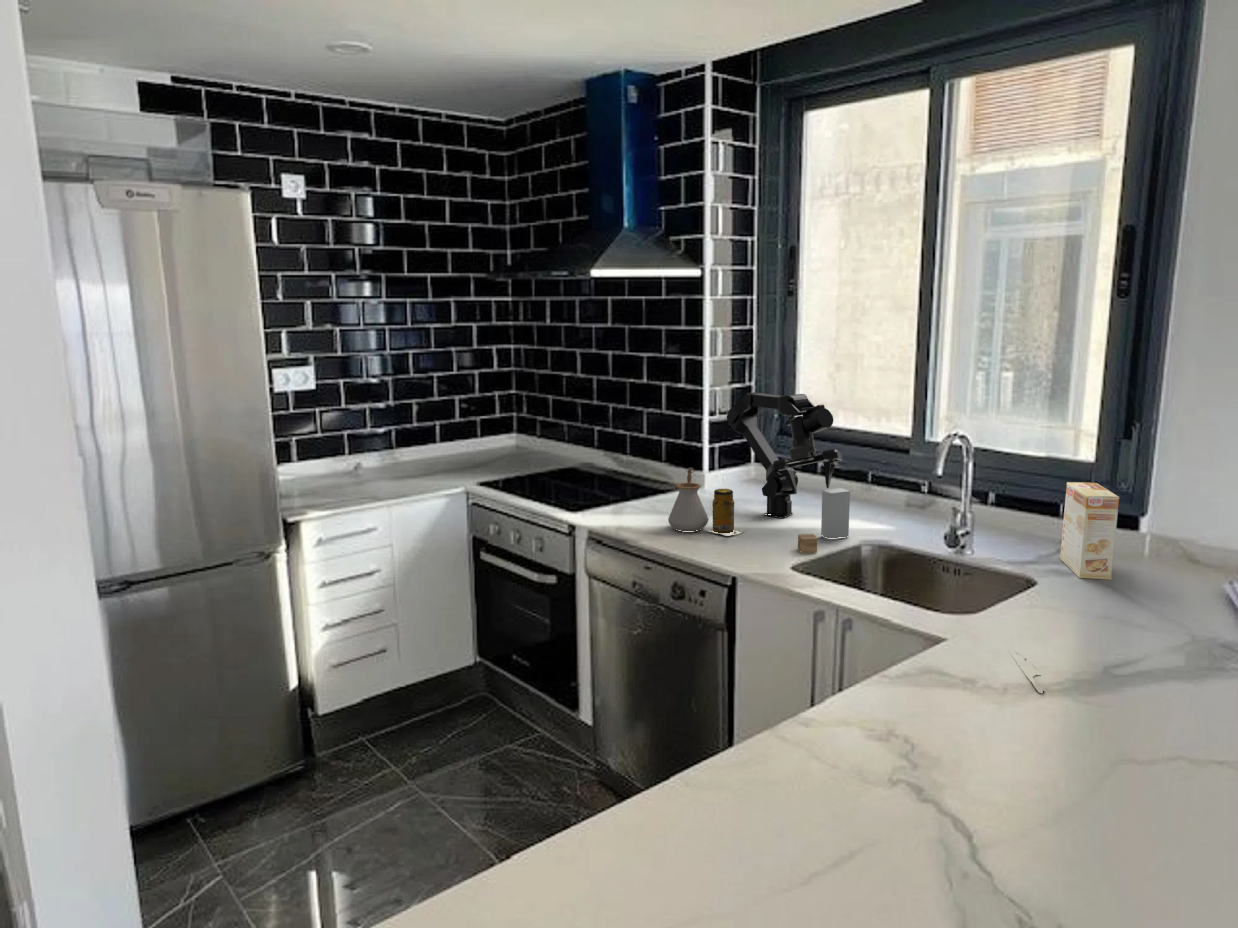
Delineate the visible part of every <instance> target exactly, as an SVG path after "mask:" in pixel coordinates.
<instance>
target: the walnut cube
mask: <svg viewBox="0 0 1238 928" xmlns="http://www.w3.org/2000/svg"><path fill="white" fill-rule="evenodd" d="M798 548H799V550H800V551H801V552H800V551H799V550H798V551H799V552H800V554H818V537H817V536H816V535H815V534H814V533H802V534H800V533H799V534H797V549H798Z"/></svg>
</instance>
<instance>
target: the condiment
mask: <svg viewBox="0 0 1238 928" xmlns="http://www.w3.org/2000/svg"><path fill="white" fill-rule="evenodd" d="M711 523H712V526H711V527H712V530H713V531H714V532H718V533H730V532H733V530H735V500H734V491H733V490H732V489H730V488H717V489H715V490H714V491H713V500H712V522H711Z"/></svg>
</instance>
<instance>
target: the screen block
mask: <svg viewBox="0 0 1238 928" xmlns="http://www.w3.org/2000/svg"><path fill="white" fill-rule="evenodd" d="M821 491H822V493H821V495H822V496H821V526H820V527H821V528H820V530H821V531H820V536H821V535H823V536H824V537H827V538H838V537H847V536H848V537H849V531H850V501H851V490H849V489H848V490H847V489H845V488H842V487H839V488H838V487H837V488H827V489H822V490H821Z"/></svg>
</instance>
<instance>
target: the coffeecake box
mask: <svg viewBox="0 0 1238 928" xmlns="http://www.w3.org/2000/svg"><path fill="white" fill-rule="evenodd" d="M1065 488H1066V489H1065V499H1064V501H1065V502H1064V510H1063V511H1064V512H1063V523H1062V533H1061V534H1062V535H1061V547H1060V557H1059V559H1060V560H1061V561H1062V562H1063V563H1064V564H1065V565H1066V566H1067V567H1068V569H1070V570H1071V571H1072V572H1073V573H1074V574H1075V575H1076V577H1078V578H1079V579H1091V580H1105V581H1106V580H1107V581H1108V580H1112V573H1113V564H1114V563H1113V562H1114V554H1115V544H1116V533H1117V525H1118V515H1119V514H1118V512H1119V503H1120V496H1118V495H1117V494H1115V493H1113V492H1112V491H1111V490H1109V489H1107V488H1106V487H1104V486H1102V485H1100V484H1099V483H1097V482H1087V481H1086V482H1085V481H1084V482H1083V481H1082V482H1078V481H1077V482H1070V481H1067V482H1066V487H1065Z"/></svg>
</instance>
